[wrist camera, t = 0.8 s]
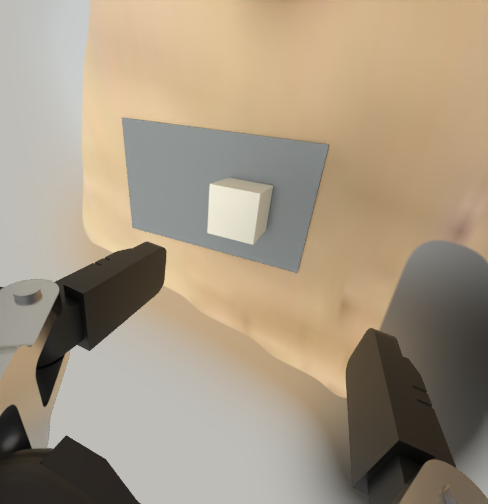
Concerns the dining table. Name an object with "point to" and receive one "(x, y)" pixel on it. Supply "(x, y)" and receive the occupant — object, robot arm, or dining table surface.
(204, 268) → the dining table surface
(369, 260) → the dining table surface
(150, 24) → the dining table surface
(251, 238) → the cube
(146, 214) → the mat
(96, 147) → the dining table surface
